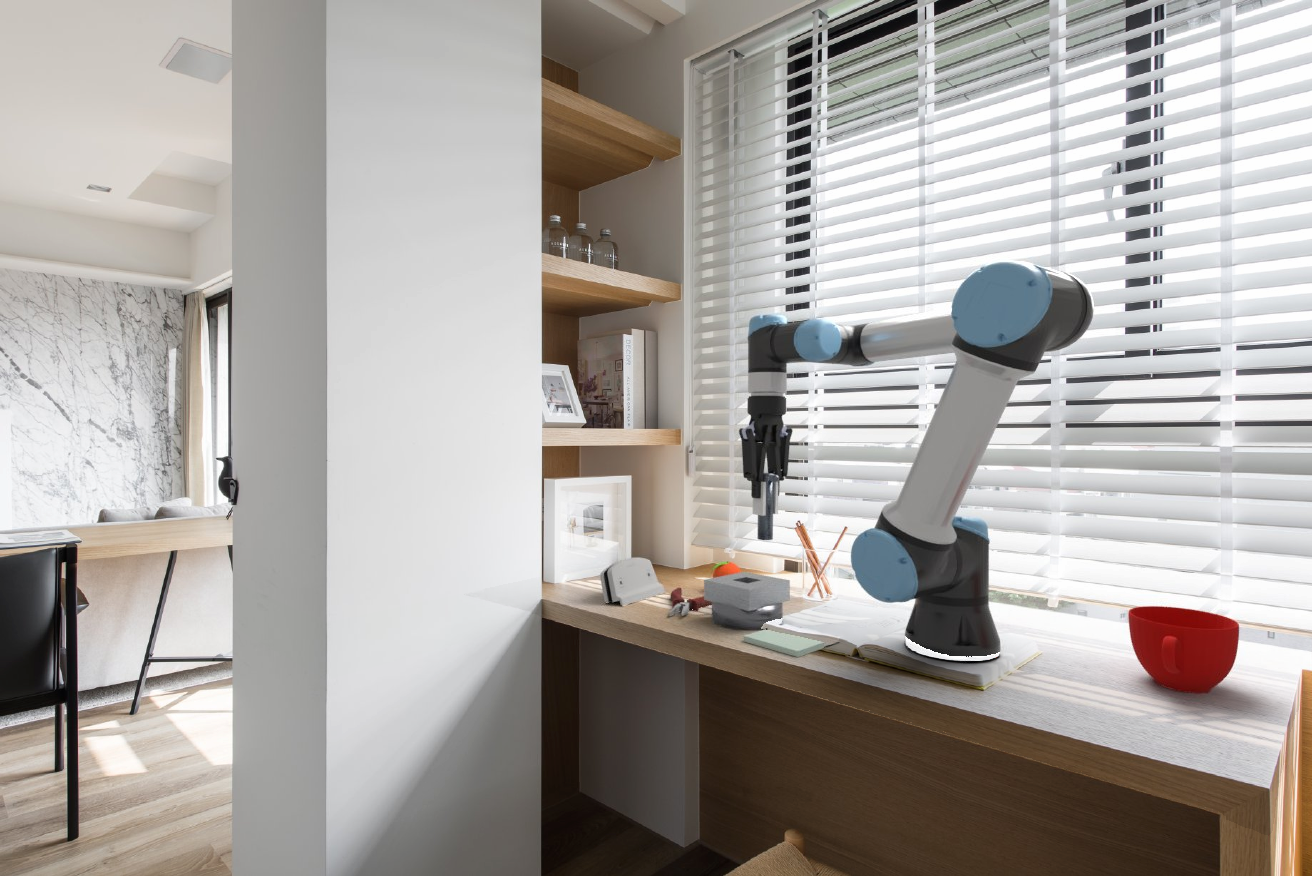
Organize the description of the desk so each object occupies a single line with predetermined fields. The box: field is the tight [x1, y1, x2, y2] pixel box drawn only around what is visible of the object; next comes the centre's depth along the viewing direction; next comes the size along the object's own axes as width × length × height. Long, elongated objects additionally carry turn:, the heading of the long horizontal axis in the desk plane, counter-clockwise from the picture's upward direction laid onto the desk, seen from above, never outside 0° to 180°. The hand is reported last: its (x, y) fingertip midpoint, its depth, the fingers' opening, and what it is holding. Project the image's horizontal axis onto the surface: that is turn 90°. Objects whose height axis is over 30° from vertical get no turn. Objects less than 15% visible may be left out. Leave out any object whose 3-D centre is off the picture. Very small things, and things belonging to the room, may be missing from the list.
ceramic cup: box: [1127, 605, 1240, 694], centre depth 101 cm, size 13×17×10 cm
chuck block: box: [703, 571, 791, 631], centre depth 139 cm, size 14×14×8 cm
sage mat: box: [743, 629, 825, 658], centre depth 125 cm, size 12×12×1 cm
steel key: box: [756, 472, 779, 541], centre depth 138 cm, size 6×3×13 cm, turn 39°
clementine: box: [710, 561, 742, 578], centre depth 164 cm, size 8×7×7 cm
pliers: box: [667, 587, 712, 617], centre depth 150 cm, size 12×20×3 cm, turn 162°
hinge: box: [599, 557, 666, 606], centre depth 160 cm, size 17×5×10 cm, turn 144°
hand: (765, 513), depth 138 cm, fingers closed on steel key, 3 cm apart
